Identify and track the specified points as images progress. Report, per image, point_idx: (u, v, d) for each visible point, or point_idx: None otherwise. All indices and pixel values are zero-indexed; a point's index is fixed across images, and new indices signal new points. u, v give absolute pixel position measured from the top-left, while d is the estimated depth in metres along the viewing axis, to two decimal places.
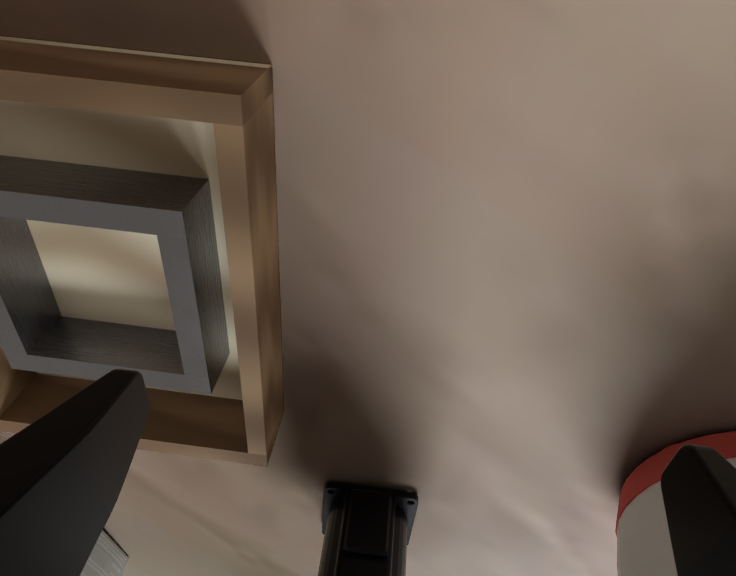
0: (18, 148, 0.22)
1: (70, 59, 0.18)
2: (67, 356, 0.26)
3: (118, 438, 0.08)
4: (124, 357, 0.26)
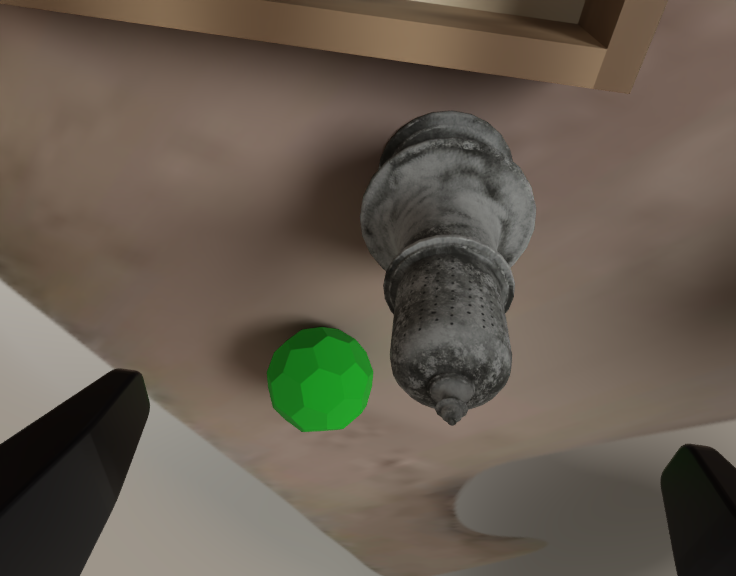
0: None
1: None
2: None
3: (118, 438, 0.08)
4: None
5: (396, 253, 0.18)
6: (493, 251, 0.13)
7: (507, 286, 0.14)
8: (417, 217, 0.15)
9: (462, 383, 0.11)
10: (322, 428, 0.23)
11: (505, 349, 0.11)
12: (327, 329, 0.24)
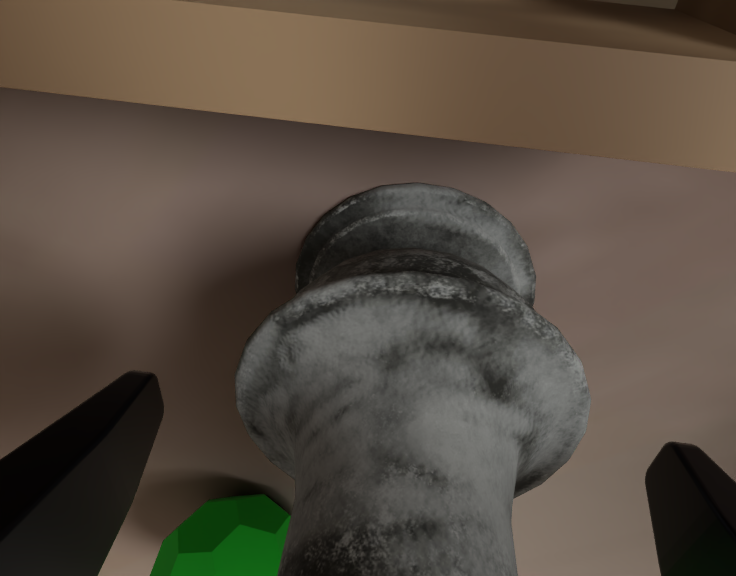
0: None
1: None
2: None
3: (134, 440, 0.08)
4: None
5: None
6: None
7: None
8: (325, 467, 0.07)
9: None
10: None
11: None
12: (244, 503, 0.15)
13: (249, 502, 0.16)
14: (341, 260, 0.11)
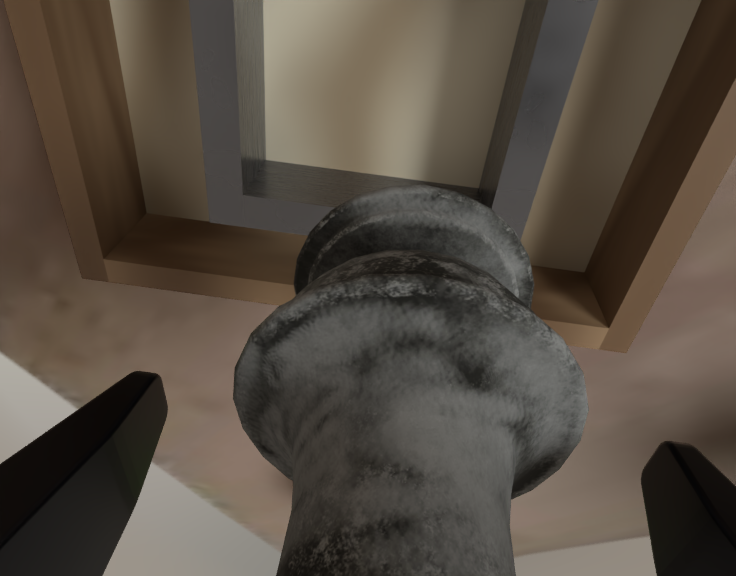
0: None
1: None
2: (500, 169, 0.16)
3: (138, 441, 0.08)
4: (523, 72, 0.14)
5: None
6: None
7: None
8: (310, 476, 0.07)
9: None
10: None
11: None
12: None
13: None
14: None
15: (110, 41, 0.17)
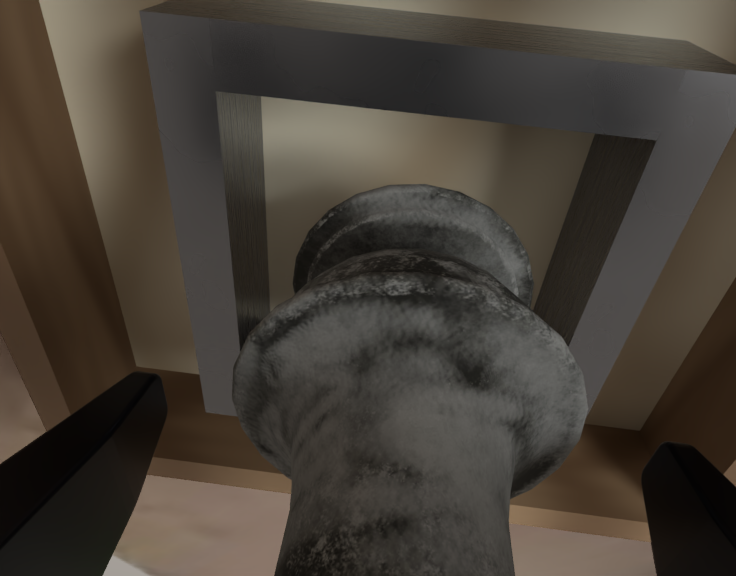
0: None
1: None
2: None
3: (138, 441, 0.08)
4: (585, 273, 0.12)
5: None
6: None
7: None
8: (309, 475, 0.07)
9: None
10: None
11: None
12: None
13: None
14: None
15: (86, 209, 0.14)
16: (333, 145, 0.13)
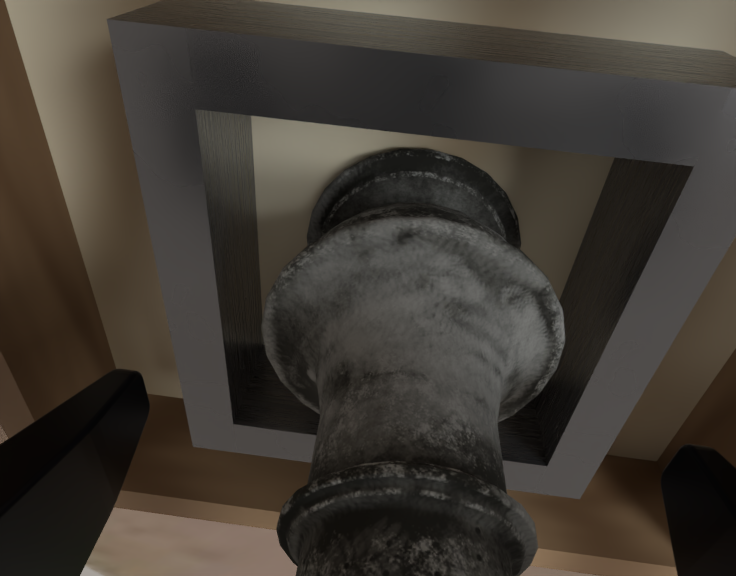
0: None
1: None
2: (569, 408, 0.12)
3: (118, 438, 0.08)
4: (607, 306, 0.11)
5: (368, 303, 0.09)
6: None
7: None
8: (488, 396, 0.08)
9: None
10: None
11: None
12: None
13: None
14: (469, 213, 0.12)
15: (64, 228, 0.13)
16: (330, 162, 0.12)
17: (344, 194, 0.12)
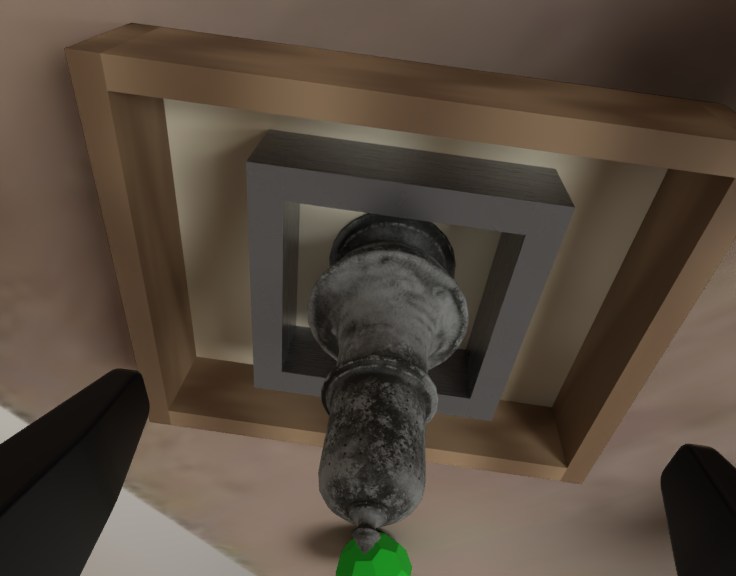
0: None
1: None
2: (480, 362, 0.21)
3: (118, 438, 0.08)
4: (497, 303, 0.19)
5: (366, 292, 0.17)
6: None
7: None
8: (422, 338, 0.17)
9: (380, 524, 0.13)
10: None
11: None
12: None
13: None
14: (424, 247, 0.20)
15: (179, 250, 0.22)
16: (344, 217, 0.20)
17: (353, 233, 0.20)
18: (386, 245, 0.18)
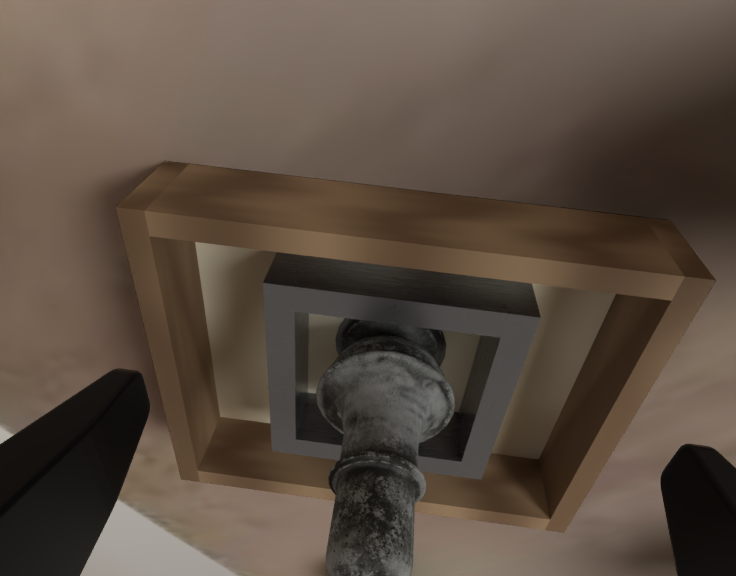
0: None
1: None
2: (469, 432, 0.23)
3: (118, 438, 0.08)
4: (481, 385, 0.22)
5: (365, 386, 0.20)
6: None
7: None
8: (413, 427, 0.20)
9: None
10: None
11: None
12: None
13: None
14: (418, 333, 0.23)
15: (205, 335, 0.25)
16: None
17: (355, 322, 0.23)
18: (383, 342, 0.21)
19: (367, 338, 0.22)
